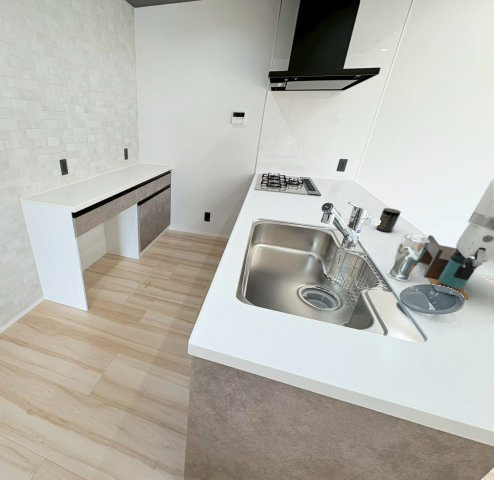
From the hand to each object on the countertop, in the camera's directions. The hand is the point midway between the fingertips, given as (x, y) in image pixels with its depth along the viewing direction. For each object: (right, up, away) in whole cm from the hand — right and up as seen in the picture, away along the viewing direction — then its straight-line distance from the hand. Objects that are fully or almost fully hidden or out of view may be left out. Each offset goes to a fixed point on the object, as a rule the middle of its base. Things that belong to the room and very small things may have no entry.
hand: (457, 272), depth 82 cm
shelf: (+6, -1, +12) cm, 14 cm away
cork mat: (0, -6, +3) cm, 6 cm away
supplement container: (+14, +15, +47) cm, 51 cm away
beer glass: (-11, -3, +9) cm, 15 cm away
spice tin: (0, -4, +2) cm, 4 cm away
